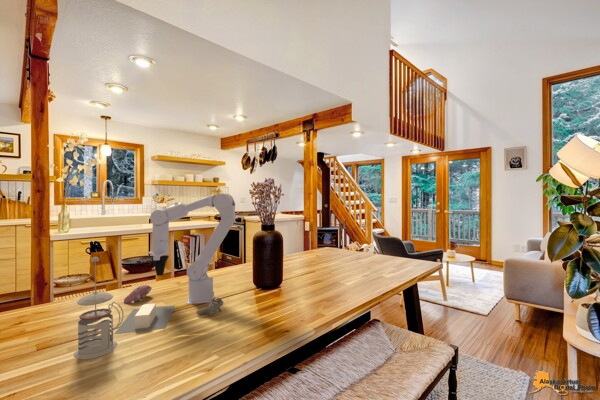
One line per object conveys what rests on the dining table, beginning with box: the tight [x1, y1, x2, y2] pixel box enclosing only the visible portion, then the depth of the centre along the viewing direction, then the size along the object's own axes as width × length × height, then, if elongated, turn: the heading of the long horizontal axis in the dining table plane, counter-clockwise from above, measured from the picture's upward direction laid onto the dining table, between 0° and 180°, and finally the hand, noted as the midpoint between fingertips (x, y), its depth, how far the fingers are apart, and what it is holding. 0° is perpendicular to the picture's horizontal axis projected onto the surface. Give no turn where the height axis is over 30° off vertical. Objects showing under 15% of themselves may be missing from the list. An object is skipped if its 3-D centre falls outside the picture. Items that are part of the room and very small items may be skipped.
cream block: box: [135, 303, 157, 329], centre depth 96 cm, size 4×4×10 cm
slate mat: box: [113, 304, 176, 335], centre depth 99 cm, size 14×20×1 cm
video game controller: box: [123, 284, 153, 304], centre depth 117 cm, size 10×5×7 cm, turn 169°
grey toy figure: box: [196, 296, 225, 317], centre depth 102 cm, size 10×6×9 cm
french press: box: [73, 256, 124, 360], centre depth 79 cm, size 10×12×25 cm
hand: (160, 275), depth 115 cm, fingers closed
